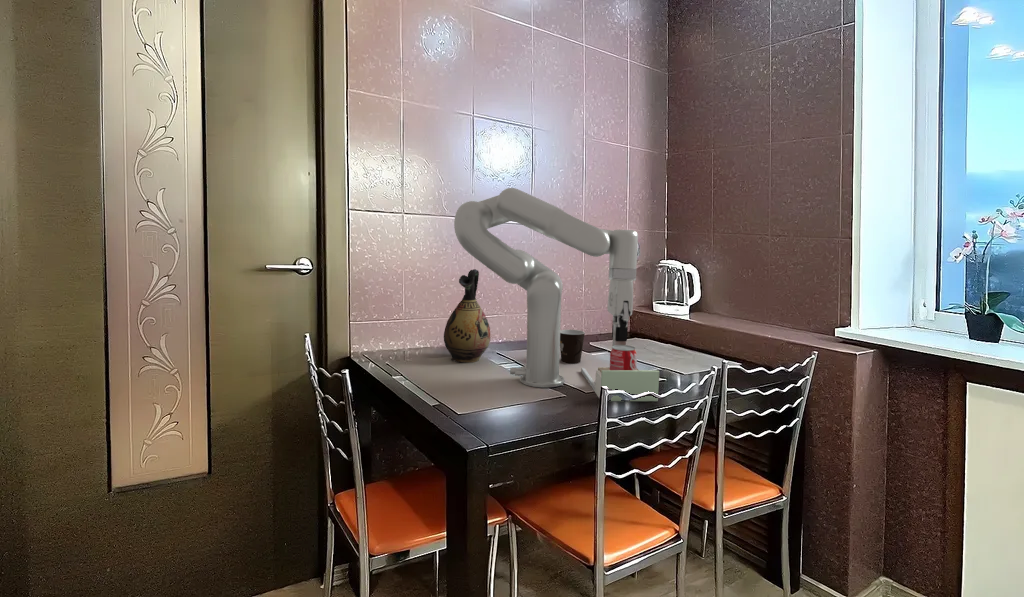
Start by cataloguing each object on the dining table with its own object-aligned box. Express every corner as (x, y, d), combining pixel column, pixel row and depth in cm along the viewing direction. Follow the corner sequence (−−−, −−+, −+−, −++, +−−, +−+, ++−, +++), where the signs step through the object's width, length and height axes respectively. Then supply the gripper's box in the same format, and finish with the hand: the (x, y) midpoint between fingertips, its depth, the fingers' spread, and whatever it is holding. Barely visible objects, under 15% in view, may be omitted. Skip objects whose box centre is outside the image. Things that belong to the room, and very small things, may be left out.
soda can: (633, 399, 150) (635, 351, 148) (606, 396, 152) (608, 348, 150) (637, 392, 156) (639, 345, 155) (611, 389, 159) (613, 343, 157)
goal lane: (601, 401, 148) (602, 371, 147) (581, 371, 177) (582, 346, 176) (657, 401, 149) (659, 371, 148) (628, 371, 178) (630, 346, 176)
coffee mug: (558, 357, 194) (559, 329, 193) (583, 359, 193) (585, 330, 192) (556, 366, 183) (557, 335, 181) (583, 367, 182) (584, 337, 180)
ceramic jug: (482, 367, 180) (484, 272, 176) (436, 363, 183) (437, 270, 179) (496, 355, 196) (498, 268, 192) (454, 351, 200) (454, 266, 196)
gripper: (602, 271, 165) (599, 333, 168) (616, 277, 149) (613, 345, 152) (627, 272, 166) (624, 333, 168) (644, 277, 150) (640, 346, 152)
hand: (619, 338), depth 160 cm, fingers closed on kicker, 3 cm apart
